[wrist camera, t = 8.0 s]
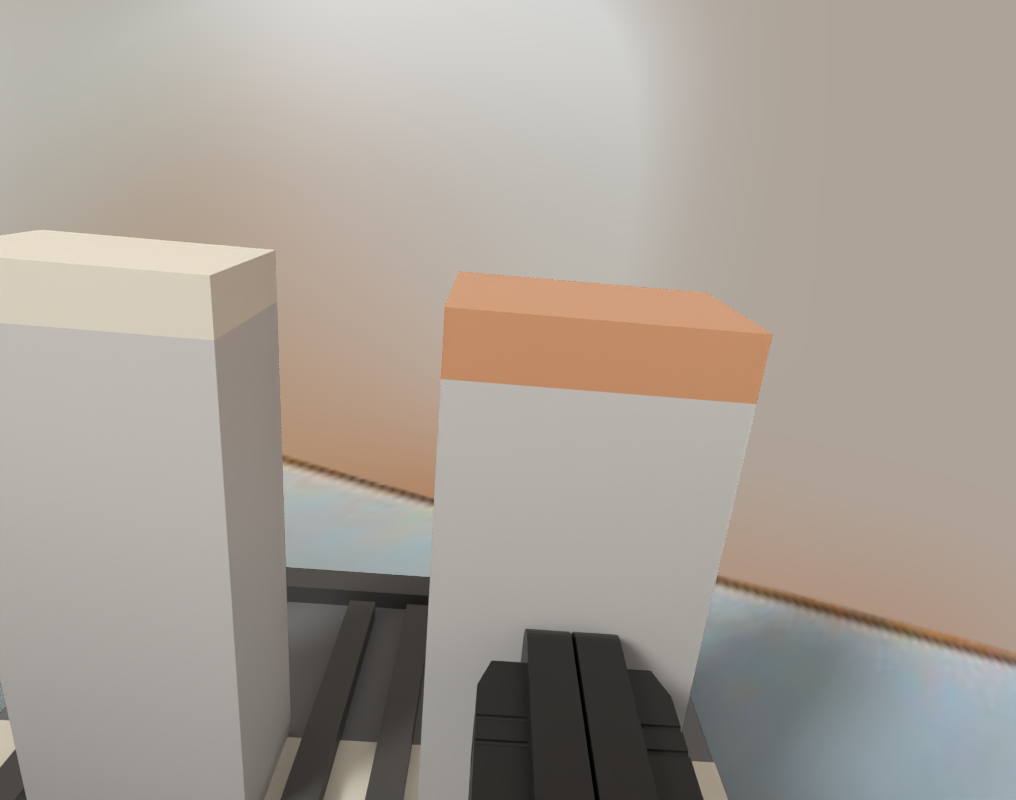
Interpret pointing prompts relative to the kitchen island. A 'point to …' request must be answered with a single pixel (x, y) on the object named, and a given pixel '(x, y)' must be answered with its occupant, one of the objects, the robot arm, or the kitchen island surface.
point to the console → (181, 550)
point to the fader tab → (578, 483)
